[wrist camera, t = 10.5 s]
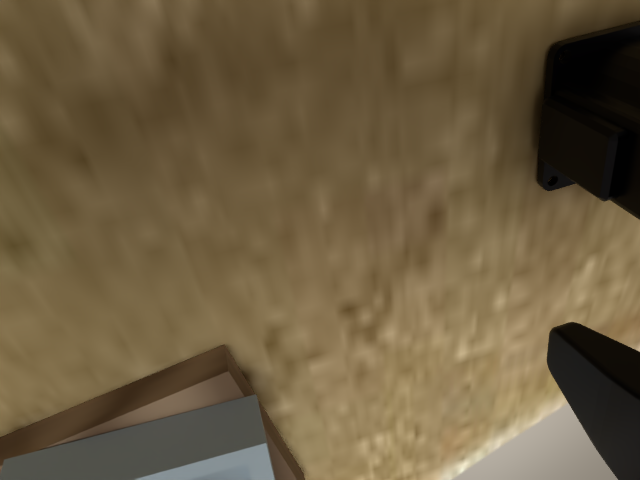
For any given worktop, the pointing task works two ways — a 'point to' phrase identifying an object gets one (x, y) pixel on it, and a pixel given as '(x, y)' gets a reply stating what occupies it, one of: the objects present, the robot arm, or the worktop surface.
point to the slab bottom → (153, 409)
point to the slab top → (161, 450)
